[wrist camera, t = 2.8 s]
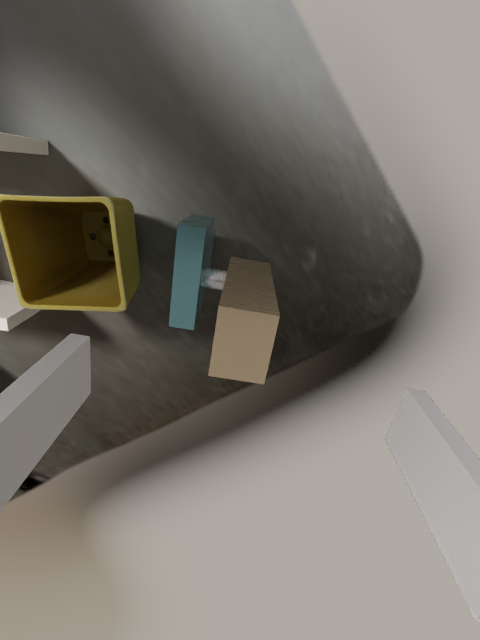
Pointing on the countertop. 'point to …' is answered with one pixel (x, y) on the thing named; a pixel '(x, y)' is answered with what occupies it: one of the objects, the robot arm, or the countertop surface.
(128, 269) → the flower pot
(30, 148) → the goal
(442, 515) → the robot arm
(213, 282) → the rod
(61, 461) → the countertop surface
